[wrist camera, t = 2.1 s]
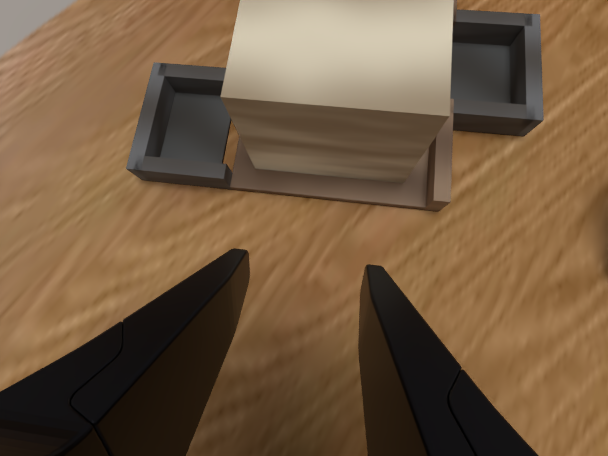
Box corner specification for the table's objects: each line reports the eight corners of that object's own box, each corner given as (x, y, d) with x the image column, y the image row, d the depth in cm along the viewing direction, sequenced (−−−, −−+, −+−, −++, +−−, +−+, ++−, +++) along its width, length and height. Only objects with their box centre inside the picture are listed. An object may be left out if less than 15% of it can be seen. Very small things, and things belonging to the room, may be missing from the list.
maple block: (403, 183, 22) (449, 116, 14) (255, 168, 23) (220, 97, 15) (415, 8, 25) (458, -127, 17) (283, 0, 26) (267, -133, 18)
